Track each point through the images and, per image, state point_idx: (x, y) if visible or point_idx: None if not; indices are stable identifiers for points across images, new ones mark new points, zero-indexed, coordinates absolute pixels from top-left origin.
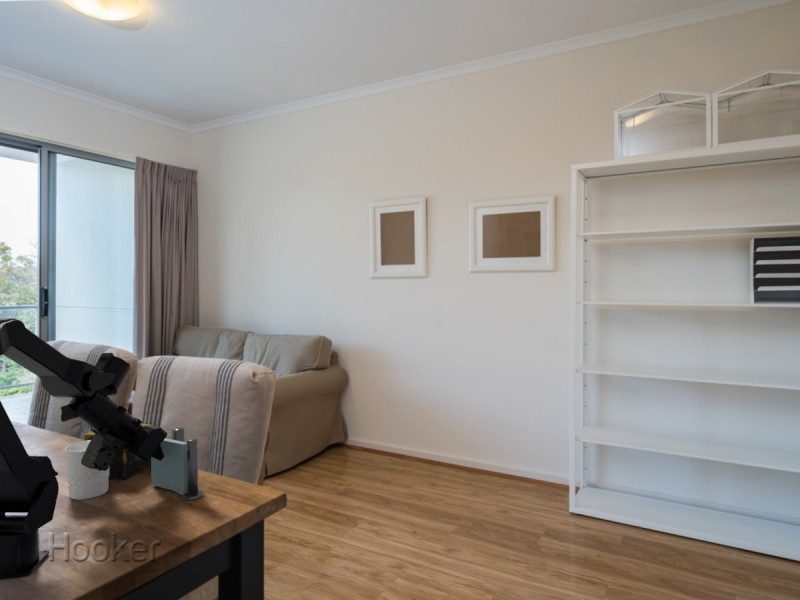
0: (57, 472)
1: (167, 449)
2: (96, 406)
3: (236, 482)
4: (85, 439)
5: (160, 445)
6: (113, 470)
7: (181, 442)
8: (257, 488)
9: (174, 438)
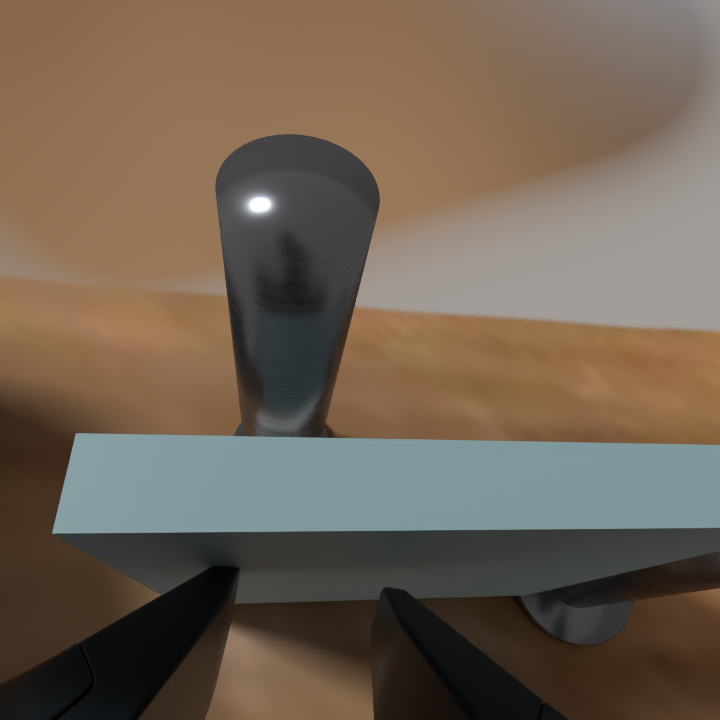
0: None
1: (458, 554)
2: None
3: (563, 333)
4: None
5: (523, 686)
6: None
7: (715, 477)
8: (702, 347)
9: (311, 322)
